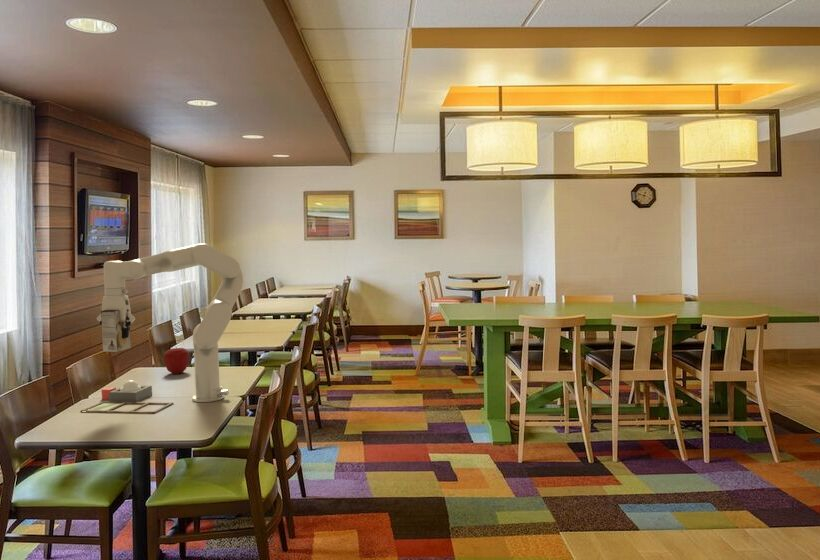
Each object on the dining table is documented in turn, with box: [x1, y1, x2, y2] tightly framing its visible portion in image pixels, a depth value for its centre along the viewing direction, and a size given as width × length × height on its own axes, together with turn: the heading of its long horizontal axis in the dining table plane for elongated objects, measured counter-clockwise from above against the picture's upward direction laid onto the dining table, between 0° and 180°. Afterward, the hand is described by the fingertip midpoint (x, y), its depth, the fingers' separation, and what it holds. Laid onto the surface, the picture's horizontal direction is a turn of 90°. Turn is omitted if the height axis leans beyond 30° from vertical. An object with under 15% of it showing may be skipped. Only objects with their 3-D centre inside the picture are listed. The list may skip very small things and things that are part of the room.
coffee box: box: [100, 310, 132, 353], centre depth 256 cm, size 9×6×16 cm
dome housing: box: [108, 385, 153, 402], centre depth 274 cm, size 12×12×4 cm
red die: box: [101, 386, 117, 400], centre depth 276 cm, size 4×4×4 cm
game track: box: [80, 401, 174, 415], centre depth 258 cm, size 31×14×1 cm, turn 81°
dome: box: [119, 379, 142, 392], centre depth 274 cm, size 8×8×6 cm
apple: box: [163, 347, 190, 375], centre depth 323 cm, size 12×12×13 cm
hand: (116, 337), depth 257 cm, fingers closed on coffee box, 6 cm apart
